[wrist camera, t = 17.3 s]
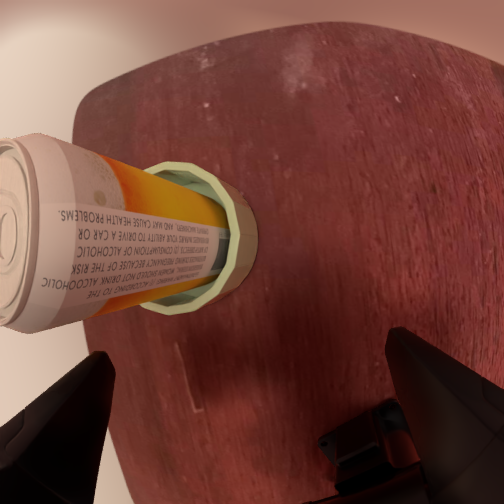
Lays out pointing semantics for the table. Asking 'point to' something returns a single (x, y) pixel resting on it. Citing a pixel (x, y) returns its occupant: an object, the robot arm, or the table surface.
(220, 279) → the can holder
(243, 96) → the table surface
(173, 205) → the beer can
